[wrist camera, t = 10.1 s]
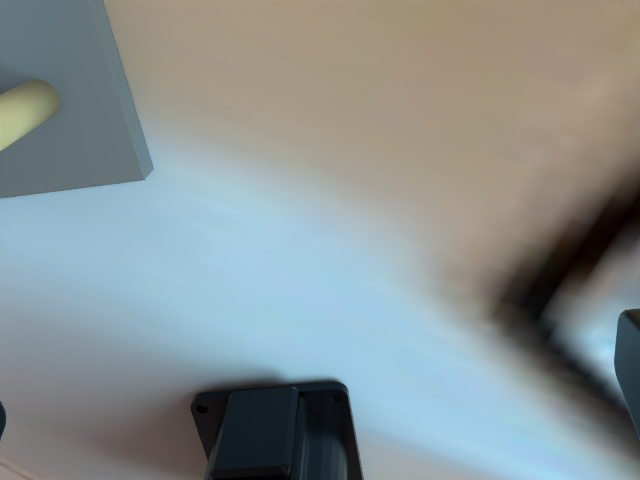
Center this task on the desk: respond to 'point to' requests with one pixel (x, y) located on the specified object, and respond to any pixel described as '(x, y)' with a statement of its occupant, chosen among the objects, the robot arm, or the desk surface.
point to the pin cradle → (64, 100)
